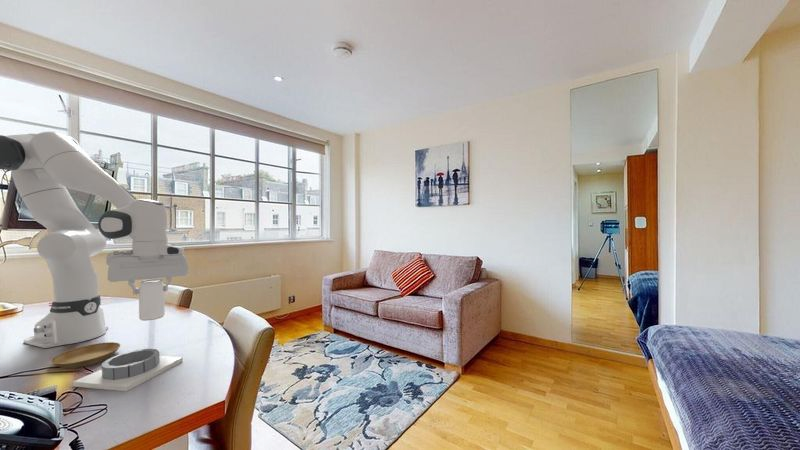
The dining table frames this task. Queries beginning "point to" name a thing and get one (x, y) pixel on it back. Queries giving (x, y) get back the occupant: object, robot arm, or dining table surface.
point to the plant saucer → (85, 355)
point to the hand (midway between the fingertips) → (150, 292)
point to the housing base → (127, 381)
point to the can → (151, 299)
